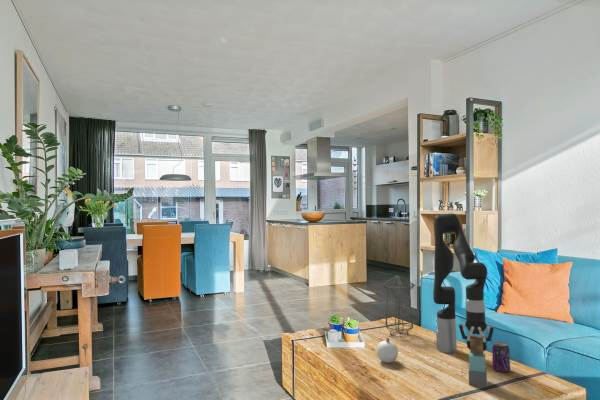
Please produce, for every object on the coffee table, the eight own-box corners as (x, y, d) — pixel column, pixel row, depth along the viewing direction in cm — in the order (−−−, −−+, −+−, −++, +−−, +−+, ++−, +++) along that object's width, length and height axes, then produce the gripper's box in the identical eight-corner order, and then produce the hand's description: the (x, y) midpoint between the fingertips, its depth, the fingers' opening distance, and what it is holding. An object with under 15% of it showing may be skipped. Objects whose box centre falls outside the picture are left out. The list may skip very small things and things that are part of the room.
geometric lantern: (396, 329, 259) (395, 273, 260) (418, 335, 246) (416, 275, 247) (380, 334, 248) (378, 276, 250) (402, 340, 236) (400, 278, 237)
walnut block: (470, 352, 176) (469, 338, 176) (470, 349, 180) (470, 335, 181) (483, 354, 174) (482, 339, 174) (483, 350, 179) (482, 336, 179)
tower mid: (469, 370, 175) (469, 355, 176) (470, 365, 181) (469, 351, 181) (485, 372, 173) (484, 357, 173) (485, 367, 178) (484, 353, 179)
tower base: (469, 385, 175) (468, 370, 175) (469, 378, 181) (468, 364, 182) (487, 387, 172) (486, 372, 172) (487, 380, 179) (486, 366, 179)
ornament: (398, 366, 198) (397, 340, 198) (376, 365, 200) (375, 340, 200) (398, 358, 208) (397, 334, 208) (377, 357, 210) (376, 333, 210)
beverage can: (500, 374, 185) (499, 347, 185) (489, 368, 192) (488, 342, 192) (513, 372, 187) (512, 345, 187) (502, 366, 194) (501, 340, 194)
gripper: (457, 310, 177) (458, 351, 177) (494, 312, 172) (495, 354, 171) (457, 306, 184) (459, 345, 184) (493, 308, 178) (495, 348, 178)
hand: (476, 349), depth 177 cm, fingers closed on walnut block, 5 cm apart
